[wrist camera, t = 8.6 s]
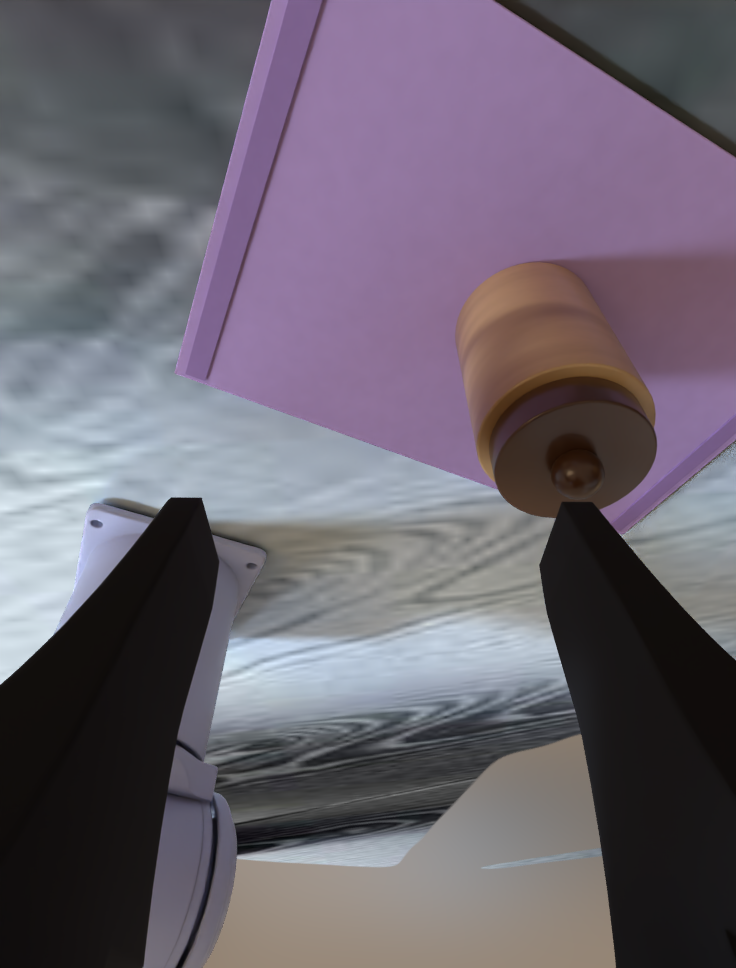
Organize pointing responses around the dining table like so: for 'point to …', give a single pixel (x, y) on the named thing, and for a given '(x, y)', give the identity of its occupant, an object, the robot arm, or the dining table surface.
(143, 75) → the dining table surface
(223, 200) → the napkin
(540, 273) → the salt mill
